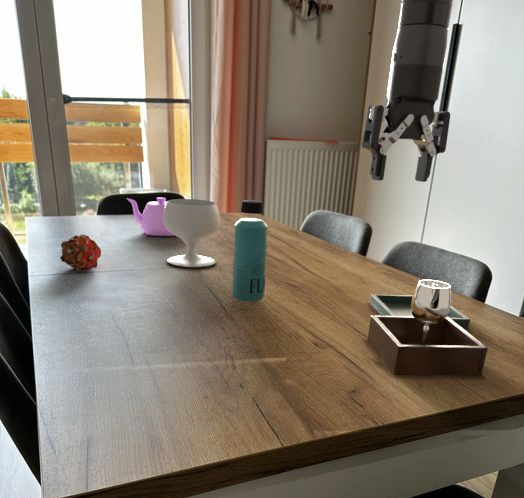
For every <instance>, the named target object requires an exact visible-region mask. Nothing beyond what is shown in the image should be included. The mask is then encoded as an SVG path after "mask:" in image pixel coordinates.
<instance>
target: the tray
mask: <svg viewBox="0 0 524 498" xmlns="http://www.w3.org/2000/svg"><path fill="white" fill-rule="evenodd" d="M412 297H413V294H378V293H376V294H375V293H370V297H369V305H370V306H371V307H372V308H373V310H374V311H376V312H377V314H378V315H379V316H413V315H412V313H411V301H412ZM447 317H449V318H450V319H451V320H453V321H454V322H455V323H456V324H458V325H459V326H460V327H462V328H463V329H464V330H465V331H468V330H469V328H470V323H471V319H470V318H469V317H468V316H466V315H465V314H464V313H463V312H461V311H460V310H459V309H457V308H455V306H452V305H451V306H450V311H449V313H448V316H447Z"/></svg>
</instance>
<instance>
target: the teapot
mask: <svg viewBox="0 0 524 498" xmlns="http://www.w3.org/2000/svg"><path fill="white" fill-rule="evenodd" d="M125 199H126V200H127V201H128V202H130V204H131V206H132V211H133V212H132V213H133V217H134V219H135V221H136V222H137V223H138V224H139V225H140V227H141V229H142V231H143V232H144V234H145V235H148V236H158V237H159V236H160V237H173V236H175V235H174V234H172V233H171V232H169V231H168V230H167V229H166V228H165V226H164V224H163V212H164V208H165V205H166V203H167V199H166V197H156V200H155V201H148V202H147V203H146V205H145V207H144V209H143V212H142V213H141V212H140V211H139V206H138V203H137V201H136V200H134V199H132V198H128V197H127V198H125Z"/></svg>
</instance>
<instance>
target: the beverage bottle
mask: <svg viewBox="0 0 524 498" xmlns="http://www.w3.org/2000/svg"><path fill="white" fill-rule="evenodd" d="M263 212H264V209H263V201H261V200H255V199H244V200H241V204H240V213H244V214H251V215H253V214H254V215H259V214H263ZM268 228H269V227H268V224H267V223H266V222H265V221H264V219H262V218H257V217H242V218H240V219H238V221H236V222H235V224H234V242H233V262H232V280H231V282H232V297H233V299H235V300H237V301H240V302H246V303H247V302H248V303H249V302H250V303H254V302H259V301H260V302H261V301H262V300H263V298H264V297H265V291H266V288H265V287H266V272H267V269H266V260H267V248H268V245H267V244H268V241H267V239H268Z"/></svg>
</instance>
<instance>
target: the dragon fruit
mask: <svg viewBox="0 0 524 498" xmlns="http://www.w3.org/2000/svg"><path fill="white" fill-rule="evenodd" d="M60 247H61V256H60V257H59V258H60V261H61V262H62V263H65V264H66V265H68V266H69V267H71V268H73V269H74V270H76V271H78V272H83V271H85V270H86V269H87V268H89V269H96V268H97V267H98V259H99V258H101V255H102V250H101V248H100V246H99V245H98V244H97V242H96V241H95V240H94V239H92V238H90V236H89V235H87V234H80V235H74V236H72V237H70V238H69V239H68V240H64V241H62V242H61V244H60Z"/></svg>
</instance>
